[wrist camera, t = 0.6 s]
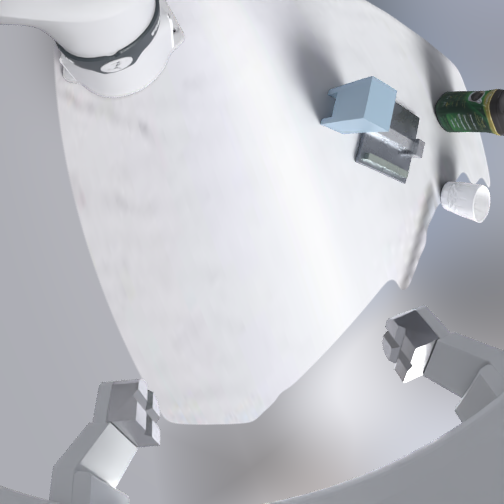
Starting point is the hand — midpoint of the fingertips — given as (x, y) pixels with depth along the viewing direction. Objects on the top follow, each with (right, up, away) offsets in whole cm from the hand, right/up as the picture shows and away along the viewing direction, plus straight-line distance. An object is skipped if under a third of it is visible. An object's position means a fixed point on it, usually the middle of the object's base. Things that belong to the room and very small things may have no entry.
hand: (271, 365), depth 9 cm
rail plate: (+24, +24, +39) cm, 52 cm away
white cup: (+44, +16, +47) cm, 67 cm away
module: (+13, +27, +35) cm, 46 cm away
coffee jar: (+42, +34, +41) cm, 68 cm away
